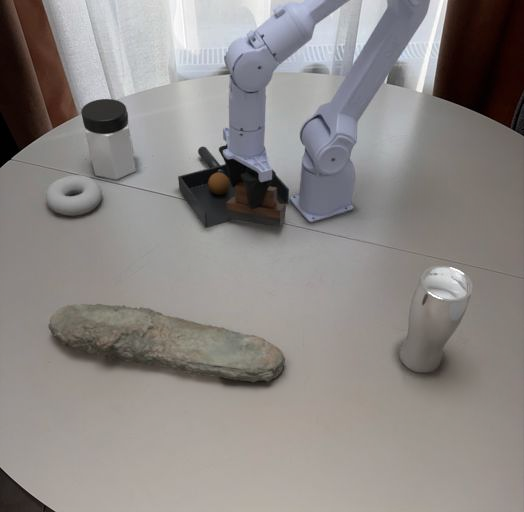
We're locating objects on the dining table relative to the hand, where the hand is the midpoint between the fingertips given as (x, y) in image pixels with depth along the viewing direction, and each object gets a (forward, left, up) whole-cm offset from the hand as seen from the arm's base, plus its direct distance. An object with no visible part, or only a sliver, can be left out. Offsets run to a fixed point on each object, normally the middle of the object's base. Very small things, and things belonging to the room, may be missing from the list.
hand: (245, 195), depth 102 cm
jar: (+17, -25, -5) cm, 30 cm away
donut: (+27, -17, -5) cm, 32 cm away
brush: (0, +3, -4) cm, 5 cm away
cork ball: (+2, -8, -2) cm, 9 cm away
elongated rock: (+24, +23, -5) cm, 34 cm away
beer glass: (-8, +41, -5) cm, 42 cm away
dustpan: (0, -11, -5) cm, 12 cm away
